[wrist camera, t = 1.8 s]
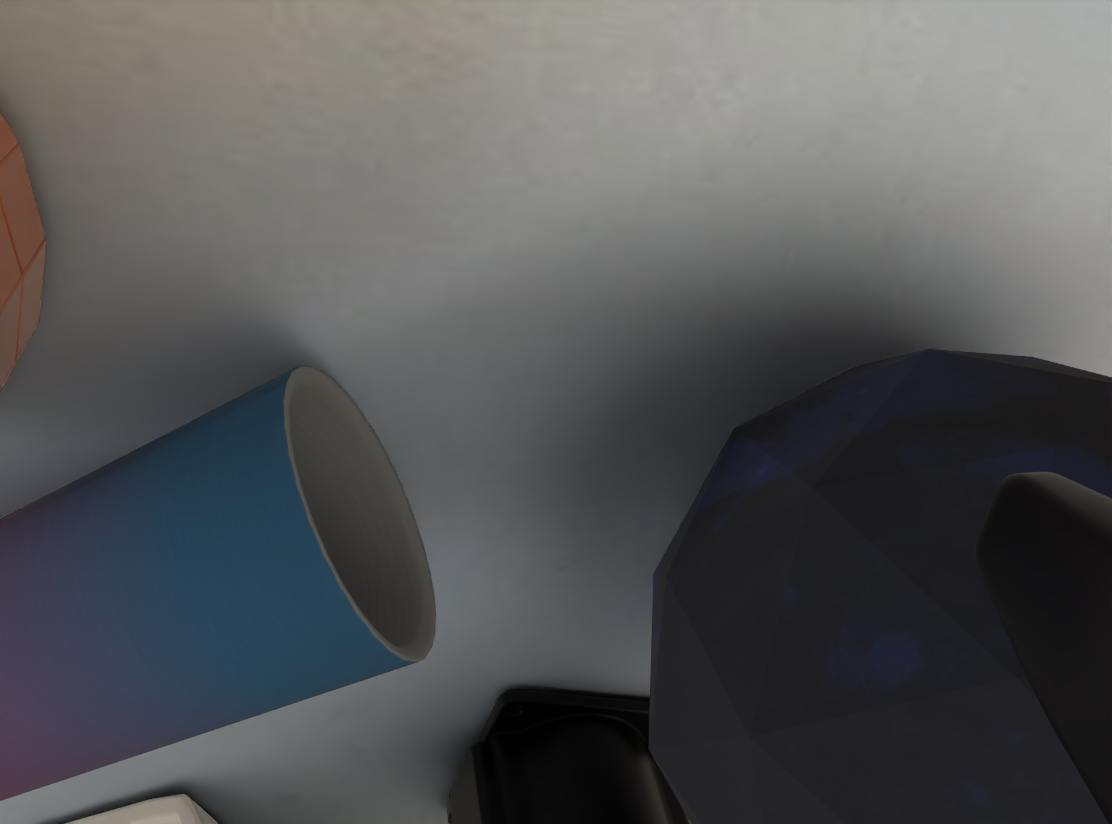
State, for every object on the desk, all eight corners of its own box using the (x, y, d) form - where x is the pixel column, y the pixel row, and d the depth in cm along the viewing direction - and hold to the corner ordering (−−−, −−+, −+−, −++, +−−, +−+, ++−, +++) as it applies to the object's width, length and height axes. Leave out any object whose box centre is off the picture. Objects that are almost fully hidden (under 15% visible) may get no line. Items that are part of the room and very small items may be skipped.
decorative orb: (1415, 449, 23) (1975, 932, 10) (1047, 824, 30) (1093, 1399, 17) (880, 191, 26) (772, 302, 13) (659, 584, 33) (444, 913, 20)
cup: (-54, 732, 26) (434, 530, 25) (-193, 980, 20) (440, 728, 19) (-250, 560, 23) (305, 315, 21) (-485, 796, 17) (262, 477, 16)
